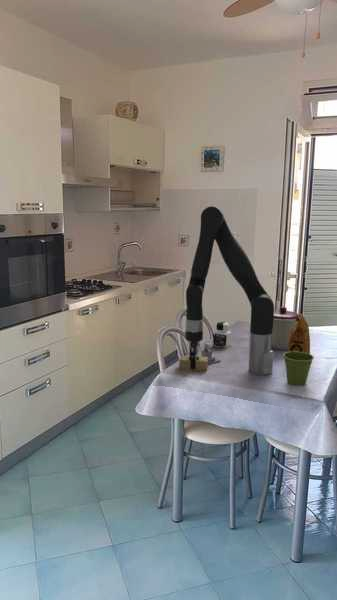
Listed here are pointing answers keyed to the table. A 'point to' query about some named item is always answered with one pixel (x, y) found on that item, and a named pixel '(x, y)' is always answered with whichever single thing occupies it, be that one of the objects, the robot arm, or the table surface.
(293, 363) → the plant pot
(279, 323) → the canister
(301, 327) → the coffee package
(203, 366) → the yellow oblong bowl
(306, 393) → the table surface
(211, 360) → the hub
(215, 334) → the medicine bottle
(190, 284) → the robot arm
